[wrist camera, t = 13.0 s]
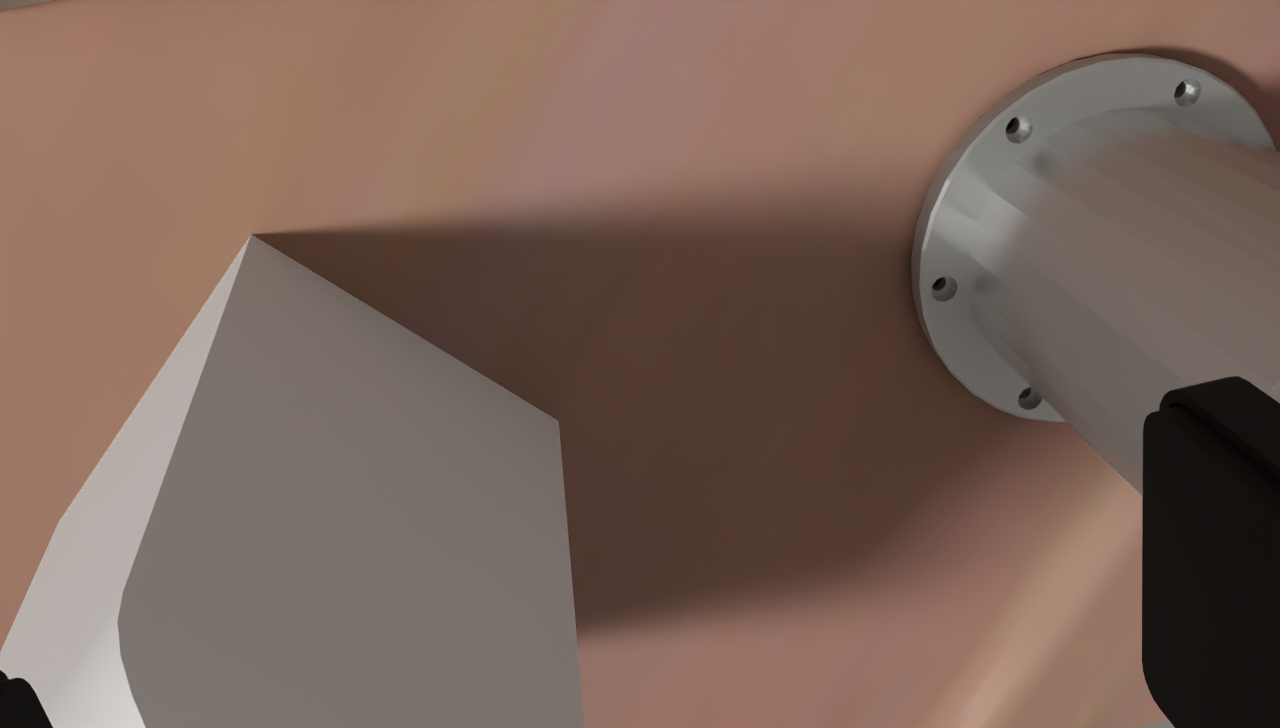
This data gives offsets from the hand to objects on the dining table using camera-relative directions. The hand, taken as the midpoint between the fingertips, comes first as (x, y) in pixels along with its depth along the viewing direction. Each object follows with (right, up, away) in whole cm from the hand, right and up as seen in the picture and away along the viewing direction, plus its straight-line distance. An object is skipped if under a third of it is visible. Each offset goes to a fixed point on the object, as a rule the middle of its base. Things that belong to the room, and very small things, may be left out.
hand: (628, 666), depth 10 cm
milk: (-11, -1, +30) cm, 32 cm away
